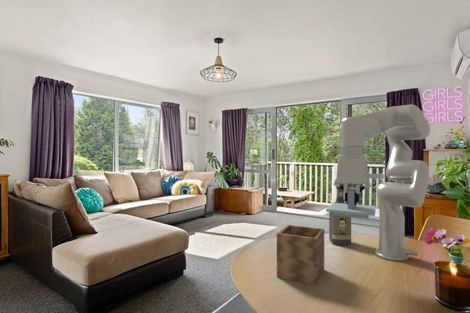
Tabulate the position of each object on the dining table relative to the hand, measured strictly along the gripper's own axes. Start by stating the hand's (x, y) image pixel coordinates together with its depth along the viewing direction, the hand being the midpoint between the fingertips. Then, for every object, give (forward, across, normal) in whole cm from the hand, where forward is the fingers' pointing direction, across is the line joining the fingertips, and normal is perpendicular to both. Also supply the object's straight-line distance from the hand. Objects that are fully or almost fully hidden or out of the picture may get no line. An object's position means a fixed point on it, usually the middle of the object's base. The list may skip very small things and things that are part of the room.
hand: (351, 203), depth 101 cm
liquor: (+26, +9, -40) cm, 48 cm away
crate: (+26, +17, +4) cm, 31 cm away
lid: (+4, 0, 0) cm, 4 cm away
